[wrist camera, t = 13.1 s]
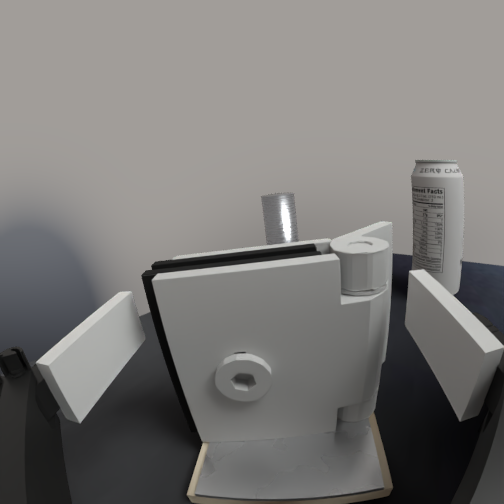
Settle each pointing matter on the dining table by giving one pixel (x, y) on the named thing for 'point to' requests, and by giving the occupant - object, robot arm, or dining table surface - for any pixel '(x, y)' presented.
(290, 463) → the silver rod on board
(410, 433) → the dining table surface
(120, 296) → the robot arm
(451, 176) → the energy drink can
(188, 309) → the hinge
